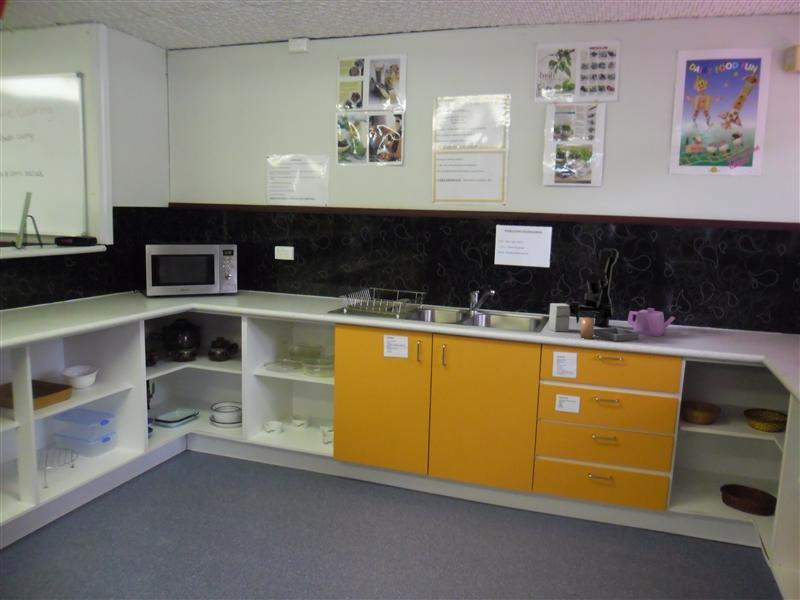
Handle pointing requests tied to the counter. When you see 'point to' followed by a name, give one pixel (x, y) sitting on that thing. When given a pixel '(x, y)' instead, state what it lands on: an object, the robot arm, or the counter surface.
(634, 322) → the teakettle
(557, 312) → the grey box
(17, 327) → the counter surface
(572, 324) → the counter surface
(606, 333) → the tray
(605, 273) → the robot arm
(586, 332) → the orange-brown rounded cylinder
